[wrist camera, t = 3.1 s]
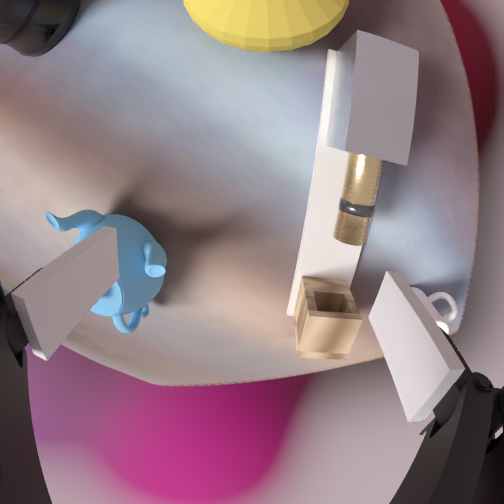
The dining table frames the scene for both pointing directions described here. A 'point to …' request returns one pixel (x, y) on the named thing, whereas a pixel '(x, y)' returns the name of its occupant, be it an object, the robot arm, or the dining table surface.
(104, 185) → the dining table surface
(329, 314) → the socket block
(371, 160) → the slip tube
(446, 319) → the cup
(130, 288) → the teapot
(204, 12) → the vase
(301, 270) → the base rail
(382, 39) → the sleeve
